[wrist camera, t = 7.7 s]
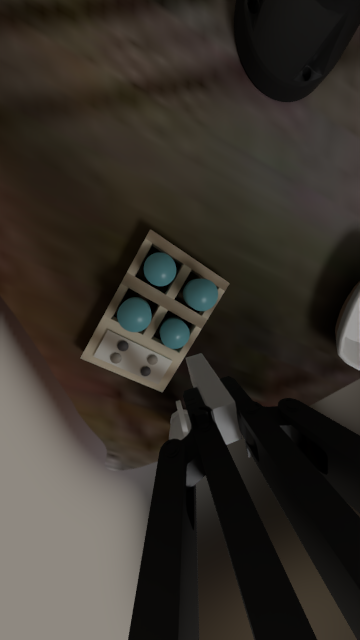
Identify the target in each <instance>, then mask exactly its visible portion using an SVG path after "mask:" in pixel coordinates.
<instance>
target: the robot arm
mask: <svg viewBox="0 0 360 640" xmlns="http://www.w3.org/2000/svg"><path fill="white" fill-rule="evenodd" d="M359 25H360V0H236V5H235V17H234V26H235V37H236V43H237V48H238V52H239V55H240V58H241V61H242V64H243V66H244V68H245V70H246V72H247V74H248V76H249V77H250V79H251V80H252V82H253V83H254V84H255V86H256V87H257V88H258V89H259V90H260V91H261V92H263V93H264V94H265V95H267V96H268V97H270V98H272V99H274V100H277V101H281V102H293V101H297V100H300V99H302V98H304V97H306V96H307V95H309V94H310V93H311V92H312V91H314V89H315V88H316V87H317V86H318V85H319V84H320V83H321V82H322V81H323V80H324V78H325V77H326V76H327V75H328V74H329V73H330V72H331V70H332V69H333V68H334V66H335V65H336V63H337V62H338V60H339V59H340V57H341V55H342V54H343V52H344V50H345V49H346V47H347V45H348V43H349V42H350V40H351V38H352V37H353V35H354V33H355V31H356V30H357V28H358V26H359ZM186 362H187V365H188V369H189V373H190V377H191V381H192V384H193V387H194V388H192V389H189V390H186V391H184V395H183V398H184V401H185V405H186V409H187V412H188V416H189V419H190V422H191V430H190V432H189V433H188V435H187V436H186V437H184V438H183V439H182V440H179V439H170V440H168V441H167V442H165V443H164V444H163V446H162V447H161V449H160V452H159V458H158V464H157V470H156V476H155V482H154V488H153V494H152V500H151V507H150V512H149V518H148V525H147V530H146V536H145V542H144V548H143V554H142V560H141V566H140V572H139V579H138V584H137V590H136V596H135V602H134V608H133V614H132V620H131V626H130V632H129V637H128V640H199V613H198V568H197V567H198V566H197V521H196V519H197V518H196V483H197V482H198V481H200V480H201V479H202V478H203V477H204V476H205V475H206V477H207V481H208V484H209V487H210V491H211V494H212V498H213V501H214V505H215V508H216V511H217V515H218V518H219V521H220V525H221V528H222V532H223V535H224V538H225V542H226V545H227V548H228V552H229V555H230V558H231V562H232V566H233V569H234V572H235V576H236V579H237V582H238V586H239V589H240V593H241V596H242V600H243V603H244V606H245V610H246V613H247V617H248V620H249V623H250V627H251V630H252V634H253V637H254V640H317V639H316V636H315V634H314V632H313V630H312V628H311V626H310V624H309V621H308V619H307V617H306V615H305V613H304V611H303V609H302V606H301V604H300V602H299V600H298V598H297V596H296V593H295V592H294V589H293V587H292V585H291V583H290V581H289V578H288V576H287V574H286V572H285V570H284V568H283V566H282V563H281V561H280V559H279V557H278V555H277V553H276V551H275V548H274V546H273V544H272V542H271V540H270V538H269V536H268V533H267V531H266V529H265V527H264V525H263V523H262V521H261V519H260V517H259V514H258V512H257V510H256V508H255V506H254V503H253V501H252V499H251V497H250V495H249V493H248V491H247V489H246V486H245V484H244V482H243V480H242V478H241V476H240V474H239V471H238V469H237V467H236V465H235V463H234V461H233V459H232V456H231V454H230V452H229V450H228V448H227V446H226V445H227V444H229V443H232V442H235V441H238V440H240V439H242V436H241V433H242V435H243V437H244V439H245V443H246V449H247V454H248V456H249V457H250V454H251V455H252V457H253V459H254V461H255V462H256V464H257V466H258V468H259V469H260V471H261V473H262V474H263V476H264V478H265V480H266V482H267V483H268V485H269V487H270V488H271V490H272V492H273V494H274V495H275V497H276V499H277V501H278V502H279V504H280V506H281V508H282V509H283V511H284V513H285V515H286V516H287V518H288V520H289V521H290V523H291V525H292V527H293V529H294V530H295V532H296V534H297V535H298V537H299V539H300V541H301V543H302V544H303V546H304V548H305V550H306V551H307V553H308V555H309V556H310V558H311V560H312V562H313V563H314V565H315V567H316V569H317V570H318V572H319V574H320V576H321V577H322V579H323V581H324V583H325V584H326V586H327V588H328V590H329V591H330V593H331V595H332V596H333V598H334V600H335V602H336V603H337V605H338V607H339V609H340V610H341V612H342V614H343V616H344V617H345V619H346V621H347V623H348V624H349V626H350V628H351V630H352V631H353V633H354V635H355V637H356V638H357V640H360V517H359V516H358V515H357V514H356V513H355V512H354V511H353V509H352V508H351V507H350V506H349V505H348V504H347V503H349V504H350V505H351V506H352V507H353V508H354V509H355V510H357V511H358V512H359V513H360V436H359V435H358V434H356V433H354V432H352V431H351V430H349V429H347V428H345V427H344V426H342V425H340V424H339V423H337V422H335V421H333V420H332V419H330V418H328V417H326V416H325V415H323V414H321V413H319V412H318V411H316V410H314V409H313V408H311V407H309V406H307V405H306V404H304V403H302V402H300V401H298V400H296V399H292V398H285V399H282V400H280V401H279V402H278V406H275V407H264V406H262V405H260V404H259V403H257V402H255V401H252V399H251V398H250V397H249V396H248V395H247V393H246V392H245V391H244V390H243V389H242V388H241V386H240V385H239V384H238V383H237V382H236V380H235V379H233V378H232V377H230V376H227V377H224V378H221V379H219V378H218V376H217V375H216V374H215V372H214V371H213V369H212V368H211V366H210V365H209V363H208V362H207V361H206V359H205V358H204V356H203V355H202V353H200V354H197V355H194V356H191V357H187V358H186Z"/></svg>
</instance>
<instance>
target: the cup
mask: <svg viewBox="0 0 360 640" xmlns="http://www.w3.org/2000/svg"><path fill="white" fill-rule="evenodd" d="M176 406H177V411H176V412H175V413H173V414H172V416H171V420H170V424H171V426H170V433H169V440H170V439H179V440H182V439H183V438H184V437H186V436H187V435H188V433H189V432H190V430H191V422H190V419H189V416H188V412H187V410H183V408H182V405H181V401H180V400H178V401H176Z"/></svg>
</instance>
